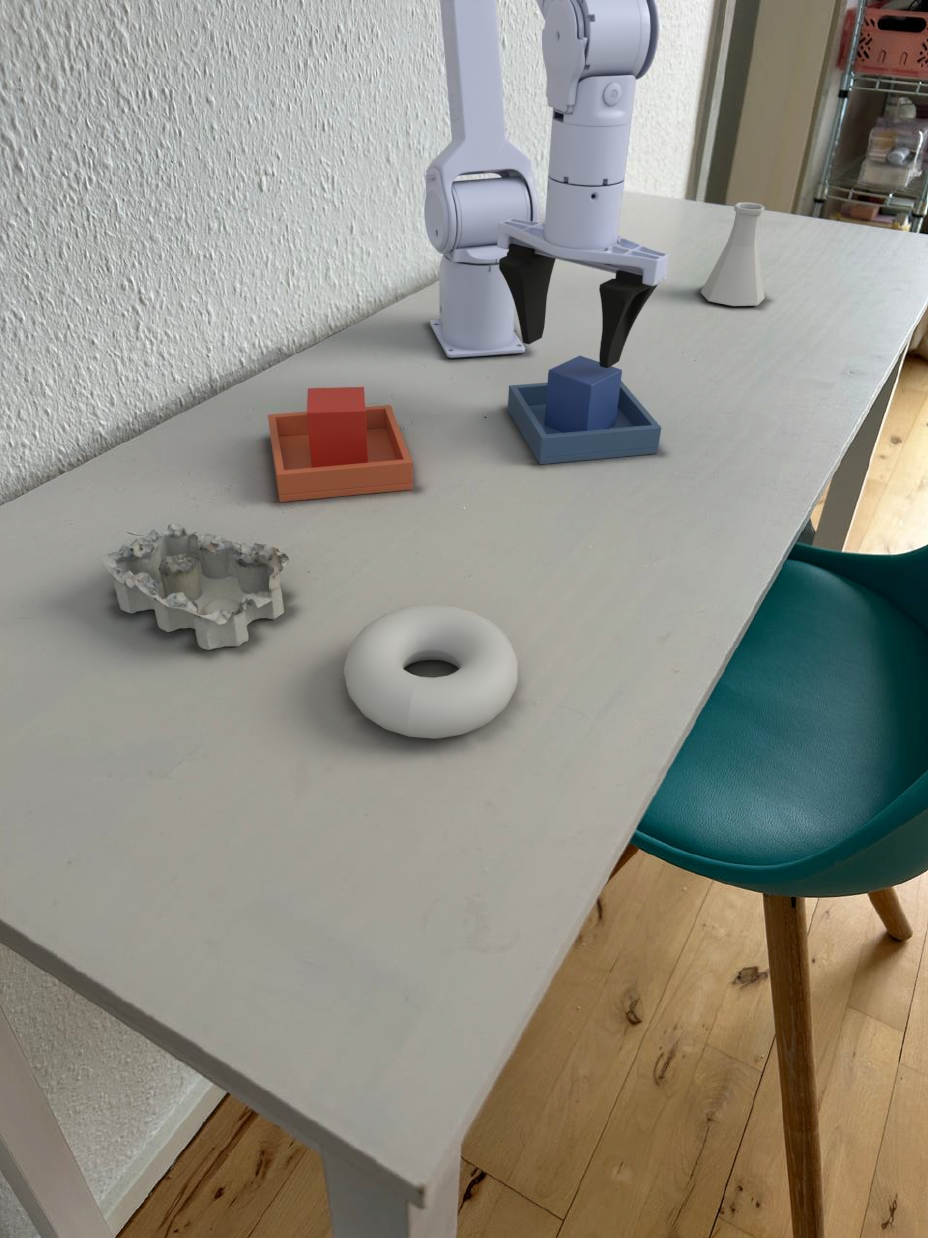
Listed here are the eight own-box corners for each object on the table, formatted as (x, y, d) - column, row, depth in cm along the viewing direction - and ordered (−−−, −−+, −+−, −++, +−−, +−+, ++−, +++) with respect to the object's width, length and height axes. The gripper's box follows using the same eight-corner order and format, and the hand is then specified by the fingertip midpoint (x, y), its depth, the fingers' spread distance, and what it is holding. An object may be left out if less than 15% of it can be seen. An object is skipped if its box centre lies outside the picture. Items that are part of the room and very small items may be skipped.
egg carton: (302, 606, 62) (297, 554, 59) (216, 667, 57) (206, 613, 54) (189, 550, 66) (179, 499, 64) (100, 602, 61) (86, 549, 59)
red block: (312, 445, 78) (307, 387, 75) (366, 443, 78) (364, 386, 75) (311, 471, 74) (306, 412, 71) (368, 469, 75) (365, 410, 72)
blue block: (543, 425, 82) (548, 369, 78) (574, 409, 84) (579, 354, 81) (585, 441, 79) (591, 385, 76) (615, 424, 82) (622, 369, 79)
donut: (505, 635, 60) (345, 638, 59) (509, 590, 58) (343, 593, 57) (527, 749, 52) (343, 755, 51) (532, 703, 50) (340, 708, 49)
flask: (765, 311, 106) (786, 217, 100) (699, 305, 107) (716, 211, 101) (762, 289, 112) (782, 199, 106) (700, 284, 113) (715, 194, 107)
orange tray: (270, 440, 80) (267, 414, 78) (391, 430, 81) (390, 404, 80) (279, 502, 72) (276, 474, 70) (412, 489, 74) (412, 462, 72)
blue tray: (507, 410, 85) (508, 385, 84) (615, 401, 87) (618, 376, 85) (539, 464, 77) (541, 437, 76) (657, 453, 79) (661, 427, 78)
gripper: (698, 183, 70) (670, 359, 79) (536, 152, 77) (525, 317, 86) (652, 202, 66) (627, 386, 74) (484, 168, 73) (478, 340, 81)
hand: (570, 351), depth 80 cm, fingers open, 7 cm apart
